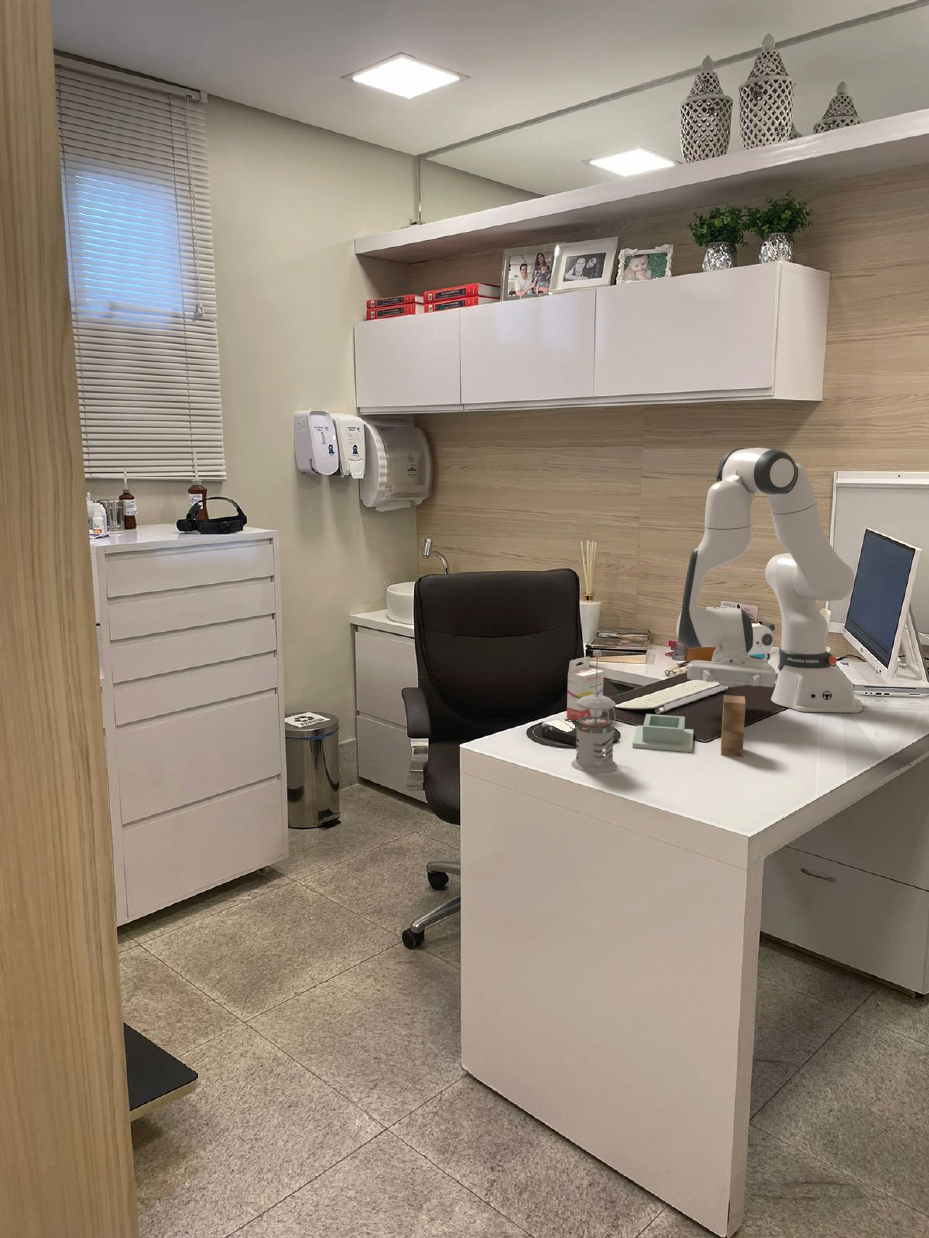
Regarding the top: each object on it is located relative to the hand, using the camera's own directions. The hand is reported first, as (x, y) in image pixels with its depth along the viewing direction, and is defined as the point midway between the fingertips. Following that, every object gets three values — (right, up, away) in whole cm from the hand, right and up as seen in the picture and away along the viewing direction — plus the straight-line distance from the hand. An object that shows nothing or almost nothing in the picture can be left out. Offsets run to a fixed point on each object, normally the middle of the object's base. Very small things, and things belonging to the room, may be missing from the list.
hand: (731, 680), depth 217 cm
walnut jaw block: (-2, -15, -9) cm, 18 cm away
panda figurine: (+24, -2, +62) cm, 66 cm away
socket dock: (-16, -14, -1) cm, 21 cm away
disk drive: (-35, -14, +1) cm, 38 cm away
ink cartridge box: (-32, -10, +17) cm, 38 cm away
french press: (-34, -17, -17) cm, 41 cm away
